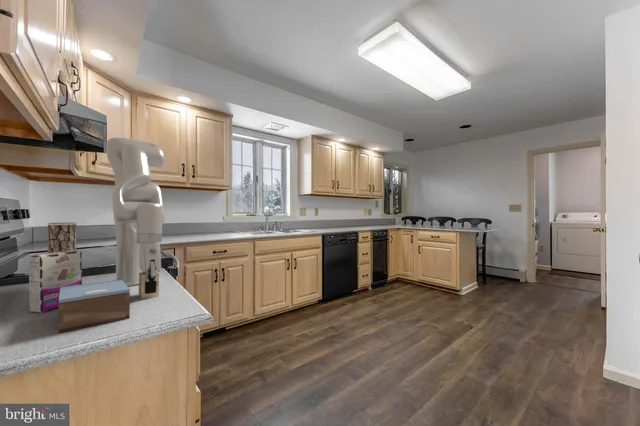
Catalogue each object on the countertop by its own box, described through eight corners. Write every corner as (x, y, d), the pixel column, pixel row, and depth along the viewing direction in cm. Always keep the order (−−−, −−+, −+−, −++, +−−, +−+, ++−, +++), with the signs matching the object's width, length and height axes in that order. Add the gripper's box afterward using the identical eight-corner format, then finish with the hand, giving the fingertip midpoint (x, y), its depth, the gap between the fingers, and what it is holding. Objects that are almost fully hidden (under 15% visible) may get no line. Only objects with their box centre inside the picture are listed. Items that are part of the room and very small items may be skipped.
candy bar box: (70, 299, 88) (70, 249, 88) (82, 301, 87) (83, 250, 87) (27, 312, 77) (27, 254, 77) (40, 313, 76) (41, 255, 76)
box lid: (60, 290, 76) (60, 285, 76) (122, 281, 85) (122, 277, 85) (58, 303, 65) (58, 297, 65) (129, 292, 74) (129, 287, 74)
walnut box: (60, 314, 76) (60, 290, 76) (121, 303, 85) (122, 281, 85) (58, 333, 65) (58, 304, 65) (129, 318, 74) (129, 292, 74)
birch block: (138, 295, 94) (139, 272, 94) (155, 292, 97) (155, 270, 97) (141, 299, 90) (141, 275, 90) (158, 296, 93) (158, 273, 93)
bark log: (54, 303, 85) (55, 223, 84) (42, 300, 87) (42, 223, 87) (80, 297, 91) (81, 222, 91) (68, 294, 93) (68, 222, 93)
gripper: (168, 239, 90) (167, 294, 90) (156, 236, 102) (155, 284, 102) (141, 241, 85) (140, 299, 85) (132, 237, 97) (131, 287, 97)
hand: (148, 290), depth 94 cm, fingers closed on birch block, 5 cm apart
